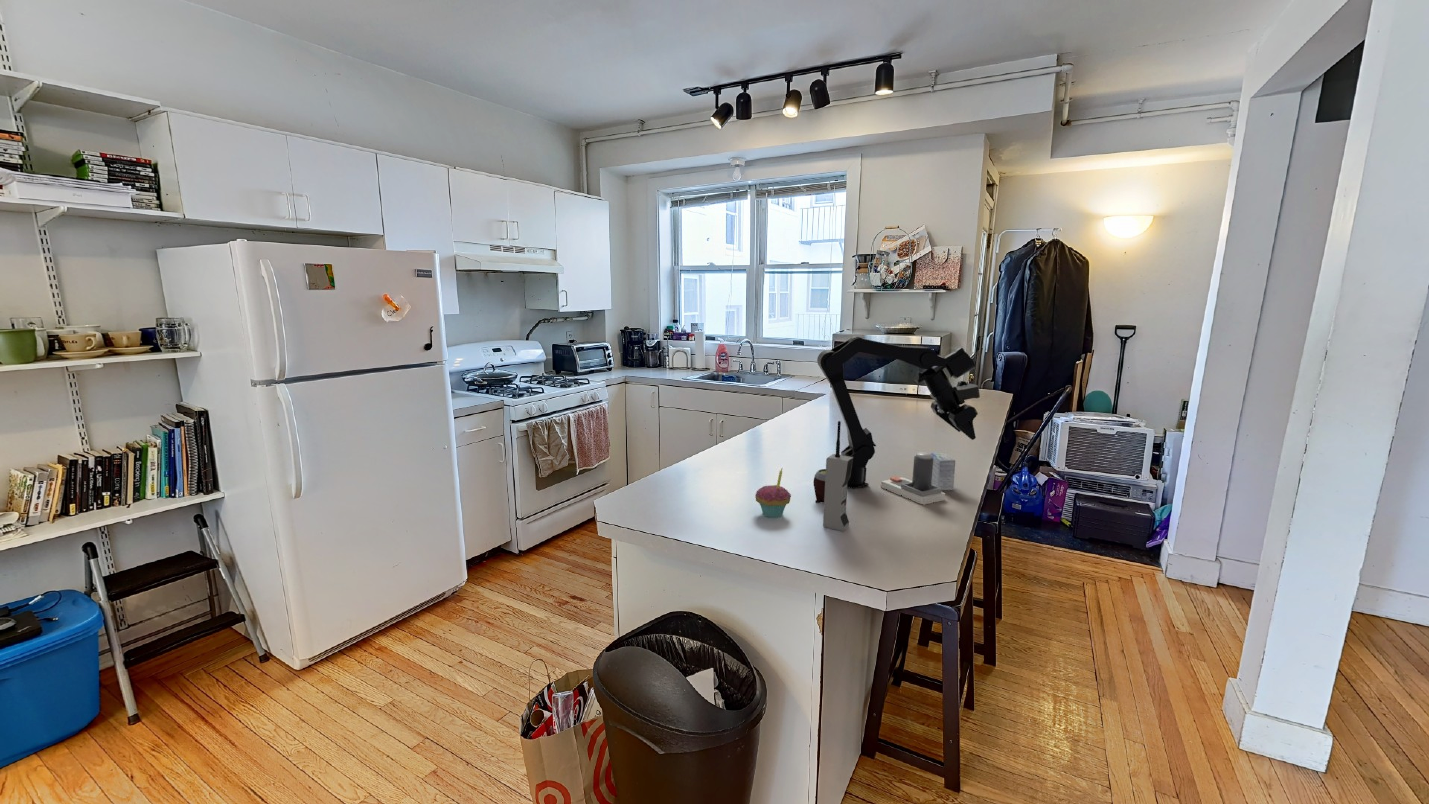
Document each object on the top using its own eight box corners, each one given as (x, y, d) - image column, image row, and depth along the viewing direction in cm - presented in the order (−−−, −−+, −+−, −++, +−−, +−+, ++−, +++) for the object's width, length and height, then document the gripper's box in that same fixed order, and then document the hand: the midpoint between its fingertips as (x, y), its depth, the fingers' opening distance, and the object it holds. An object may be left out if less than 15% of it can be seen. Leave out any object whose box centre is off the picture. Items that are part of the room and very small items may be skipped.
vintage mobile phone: (843, 532, 129) (850, 424, 124) (822, 527, 131) (828, 421, 127) (849, 526, 132) (855, 421, 127) (828, 522, 134) (834, 418, 130)
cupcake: (793, 510, 141) (795, 464, 139) (785, 523, 133) (787, 474, 131) (759, 506, 144) (760, 460, 142) (750, 518, 136) (751, 469, 134)
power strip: (922, 504, 146) (923, 493, 146) (881, 487, 159) (881, 477, 159) (944, 500, 150) (945, 489, 149) (902, 483, 163) (902, 473, 162)
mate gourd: (808, 498, 150) (810, 443, 147) (834, 495, 152) (837, 441, 150) (821, 508, 143) (824, 450, 140) (849, 505, 146) (852, 448, 143)
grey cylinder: (921, 494, 149) (924, 457, 147) (907, 489, 153) (910, 453, 151) (934, 491, 151) (937, 455, 149) (920, 486, 155) (923, 450, 153)
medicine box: (953, 490, 157) (956, 460, 156) (937, 490, 157) (940, 460, 156) (942, 481, 165) (945, 452, 163) (927, 481, 165) (929, 452, 164)
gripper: (981, 377, 146) (1009, 427, 148) (953, 367, 164) (979, 413, 166) (942, 399, 147) (970, 449, 149) (919, 388, 165) (944, 432, 167)
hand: (967, 434), depth 158 cm, fingers open, 9 cm apart
